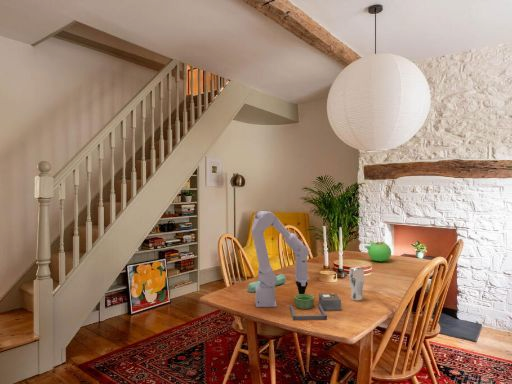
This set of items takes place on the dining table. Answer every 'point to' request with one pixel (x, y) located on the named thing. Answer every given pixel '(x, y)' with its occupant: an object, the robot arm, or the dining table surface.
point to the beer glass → (356, 283)
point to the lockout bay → (309, 317)
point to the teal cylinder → (252, 286)
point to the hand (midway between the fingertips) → (301, 296)
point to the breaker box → (330, 301)
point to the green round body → (379, 251)
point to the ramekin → (304, 301)
